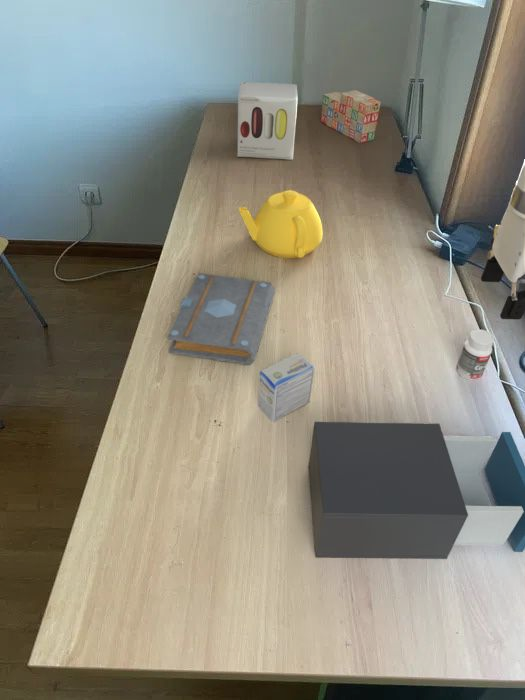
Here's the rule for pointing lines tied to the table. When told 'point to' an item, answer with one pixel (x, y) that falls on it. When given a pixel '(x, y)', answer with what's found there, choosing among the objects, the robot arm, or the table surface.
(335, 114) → the stack of blocks
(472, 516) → the drawer
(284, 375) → the medicine box
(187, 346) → the book
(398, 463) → the drawer cabinet
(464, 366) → the pill bottle
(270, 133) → the supplement box
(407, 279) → the table surface
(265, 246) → the teapot
